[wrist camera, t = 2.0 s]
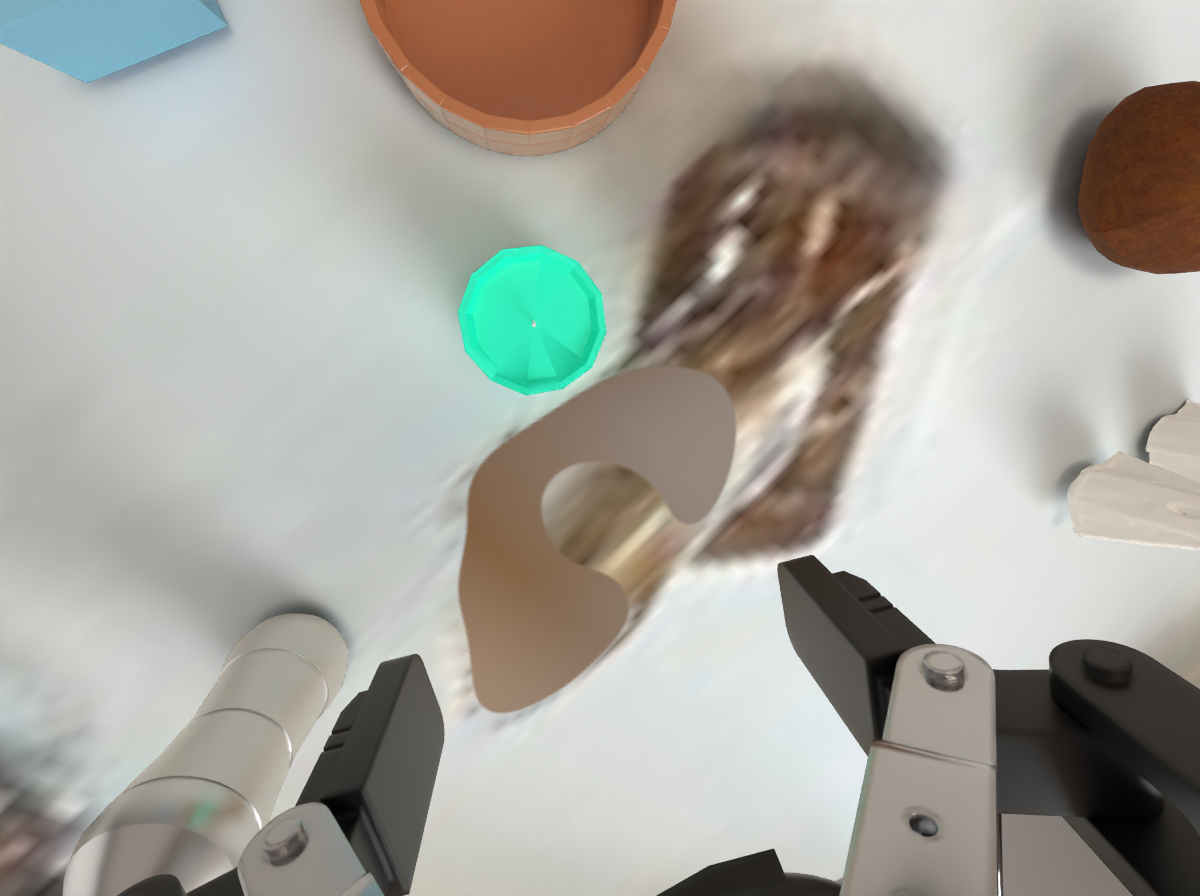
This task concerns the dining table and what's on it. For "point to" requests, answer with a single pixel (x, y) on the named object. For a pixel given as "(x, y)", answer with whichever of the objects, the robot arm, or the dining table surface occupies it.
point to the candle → (532, 319)
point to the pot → (521, 64)
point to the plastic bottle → (217, 765)
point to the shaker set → (1145, 489)
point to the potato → (1146, 181)
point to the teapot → (103, 31)
